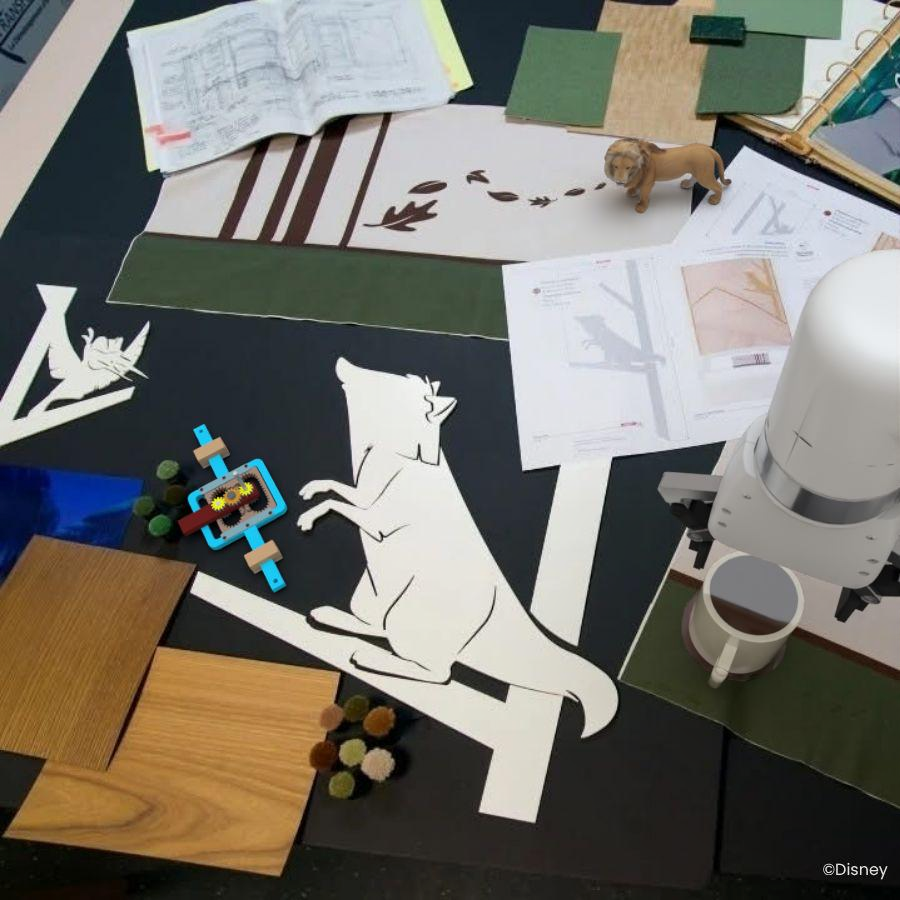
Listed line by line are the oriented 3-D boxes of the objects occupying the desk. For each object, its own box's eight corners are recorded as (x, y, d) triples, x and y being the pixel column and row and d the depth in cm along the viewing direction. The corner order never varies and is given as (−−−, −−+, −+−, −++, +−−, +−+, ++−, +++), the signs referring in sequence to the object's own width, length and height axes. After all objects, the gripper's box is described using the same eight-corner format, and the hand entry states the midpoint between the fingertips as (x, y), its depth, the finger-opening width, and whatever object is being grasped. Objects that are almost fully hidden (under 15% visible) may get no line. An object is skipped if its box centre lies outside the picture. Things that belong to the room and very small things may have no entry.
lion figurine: (607, 228, 95) (612, 164, 87) (595, 195, 98) (598, 130, 90) (738, 201, 95) (754, 134, 87) (721, 168, 98) (736, 101, 90)
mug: (707, 574, 73) (722, 534, 66) (792, 610, 70) (818, 573, 63) (664, 674, 69) (676, 642, 62) (753, 716, 67) (776, 688, 60)
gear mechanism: (226, 621, 76) (320, 569, 78) (205, 600, 72) (305, 544, 73) (153, 458, 86) (237, 414, 88) (129, 429, 81) (219, 384, 83)
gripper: (1026, 447, 44) (916, 574, 59) (694, 353, 50) (669, 490, 64) (1001, 574, 41) (891, 674, 56) (650, 458, 47) (634, 577, 61)
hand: (772, 576), depth 60 cm, fingers open, 9 cm apart
